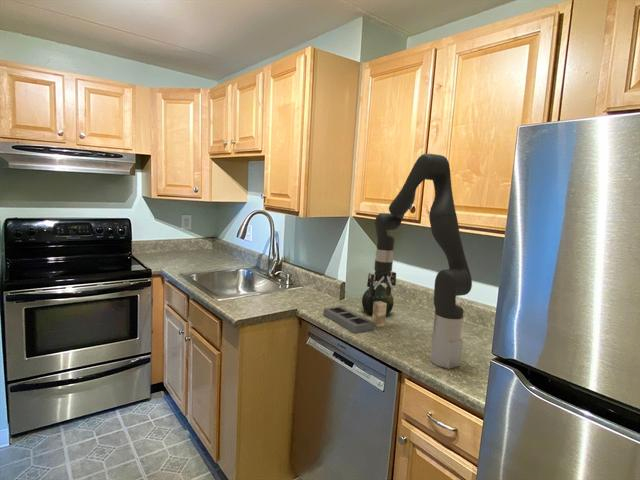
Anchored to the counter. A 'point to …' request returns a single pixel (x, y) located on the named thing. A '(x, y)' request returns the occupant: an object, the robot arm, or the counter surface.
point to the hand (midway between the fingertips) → (380, 296)
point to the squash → (377, 299)
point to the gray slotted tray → (348, 319)
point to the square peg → (379, 313)
